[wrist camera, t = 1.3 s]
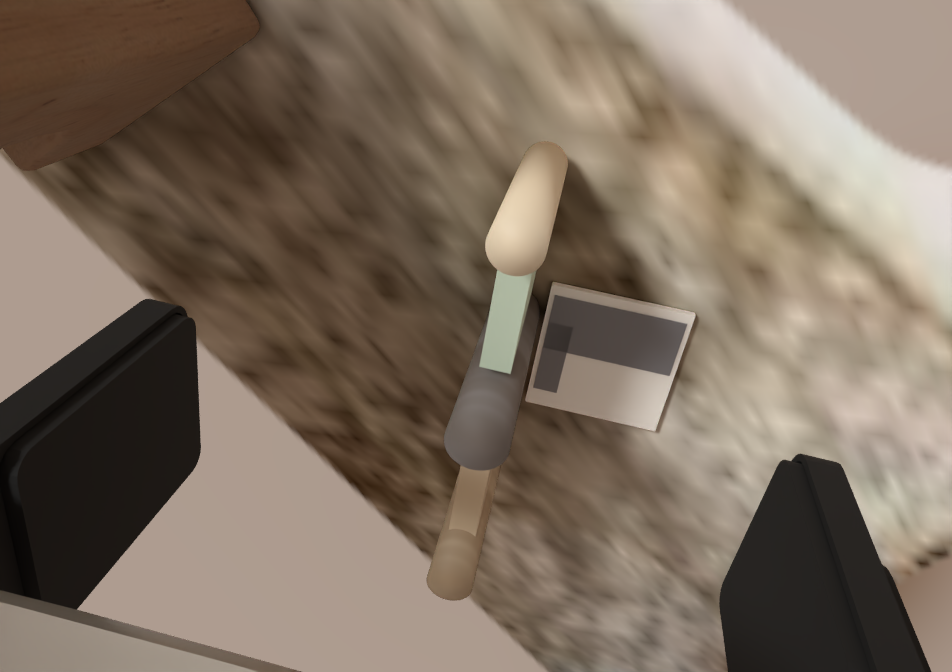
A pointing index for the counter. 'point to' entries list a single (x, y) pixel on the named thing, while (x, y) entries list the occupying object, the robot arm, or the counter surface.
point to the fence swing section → (520, 248)
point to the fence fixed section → (478, 459)
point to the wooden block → (102, 66)
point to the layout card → (607, 355)
